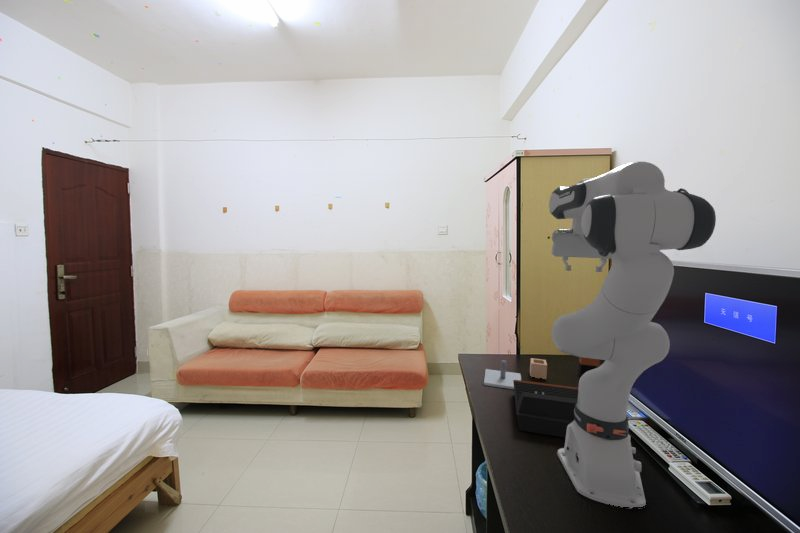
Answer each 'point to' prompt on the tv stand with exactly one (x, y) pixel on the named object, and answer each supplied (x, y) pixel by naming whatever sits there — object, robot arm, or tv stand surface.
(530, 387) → the video game console
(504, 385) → the keeper dock
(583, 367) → the battery
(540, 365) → the open-ended wooden box
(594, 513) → the tv stand surface
